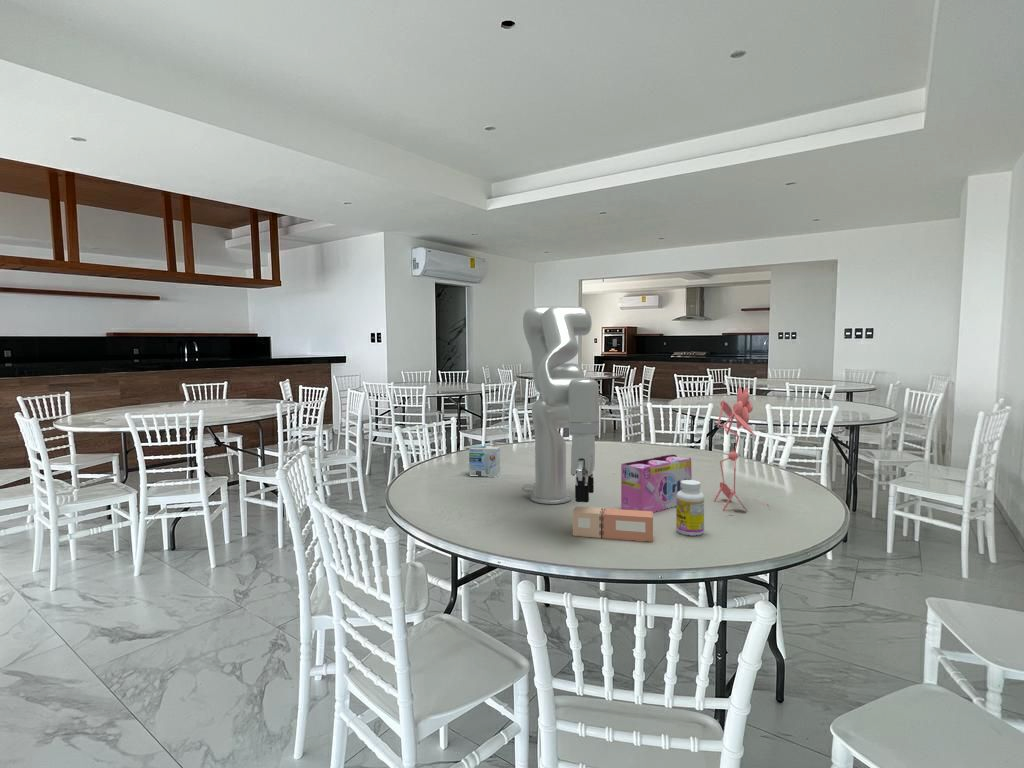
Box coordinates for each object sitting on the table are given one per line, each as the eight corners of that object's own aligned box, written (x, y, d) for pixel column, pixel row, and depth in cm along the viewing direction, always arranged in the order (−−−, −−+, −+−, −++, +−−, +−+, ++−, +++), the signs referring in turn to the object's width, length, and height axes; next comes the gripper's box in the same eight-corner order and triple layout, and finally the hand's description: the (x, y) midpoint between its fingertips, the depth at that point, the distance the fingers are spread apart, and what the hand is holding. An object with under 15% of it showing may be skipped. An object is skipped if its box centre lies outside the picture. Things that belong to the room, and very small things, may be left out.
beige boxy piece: (572, 535, 134) (572, 511, 134) (575, 529, 139) (575, 505, 139) (600, 538, 132) (600, 513, 132) (603, 531, 137) (602, 507, 137)
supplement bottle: (672, 528, 139) (672, 479, 138) (697, 527, 140) (697, 478, 139) (682, 537, 132) (682, 485, 132) (708, 536, 133) (709, 484, 132)
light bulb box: (468, 477, 198) (468, 448, 198) (473, 473, 205) (472, 444, 204) (497, 478, 196) (497, 448, 196) (500, 473, 203) (500, 445, 202)
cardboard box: (602, 538, 132) (602, 513, 132) (604, 531, 137) (604, 507, 137) (652, 542, 129) (652, 517, 129) (652, 535, 134) (653, 511, 134)
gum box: (674, 496, 169) (674, 453, 169) (695, 502, 163) (696, 457, 162) (620, 509, 156) (620, 463, 155) (641, 516, 149) (641, 468, 149)
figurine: (729, 519, 146) (734, 389, 143) (703, 494, 171) (707, 384, 169) (788, 521, 144) (794, 390, 142) (753, 495, 170) (758, 384, 168)
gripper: (574, 424, 143) (575, 488, 144) (563, 432, 127) (564, 505, 127) (602, 425, 142) (603, 489, 142) (595, 433, 125) (596, 506, 125)
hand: (584, 497), depth 135 cm, fingers open, 9 cm apart
